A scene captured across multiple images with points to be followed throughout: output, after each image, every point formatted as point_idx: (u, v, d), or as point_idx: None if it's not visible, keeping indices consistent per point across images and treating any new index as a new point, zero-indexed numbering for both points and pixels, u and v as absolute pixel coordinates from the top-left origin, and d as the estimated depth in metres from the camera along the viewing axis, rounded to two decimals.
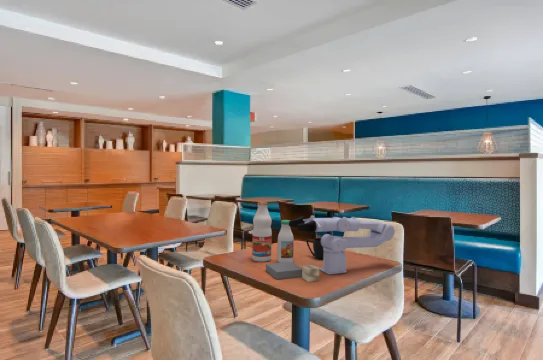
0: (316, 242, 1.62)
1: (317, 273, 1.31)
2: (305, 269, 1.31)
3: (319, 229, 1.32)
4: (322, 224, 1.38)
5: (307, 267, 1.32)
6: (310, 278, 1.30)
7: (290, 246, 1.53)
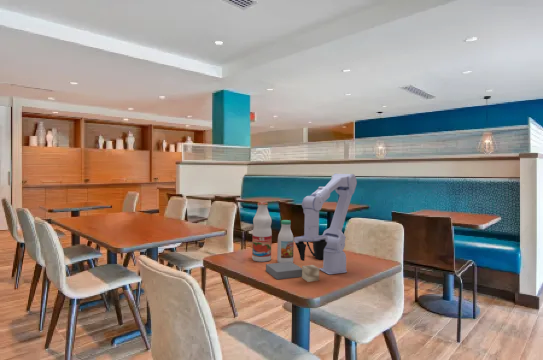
0: None
1: (317, 273, 1.31)
2: (305, 269, 1.31)
3: None
4: None
5: (307, 267, 1.32)
6: (310, 278, 1.30)
7: (290, 246, 1.53)
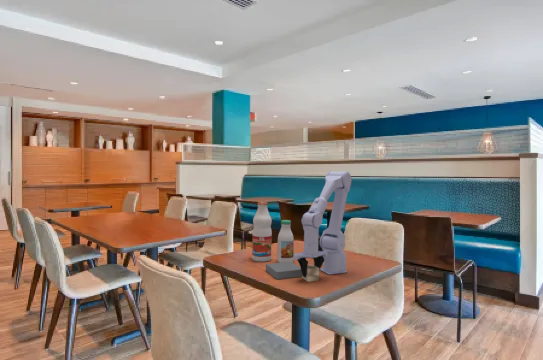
0: None
1: (317, 273, 1.31)
2: None
3: None
4: None
5: (307, 267, 1.32)
6: (310, 278, 1.30)
7: (290, 246, 1.53)
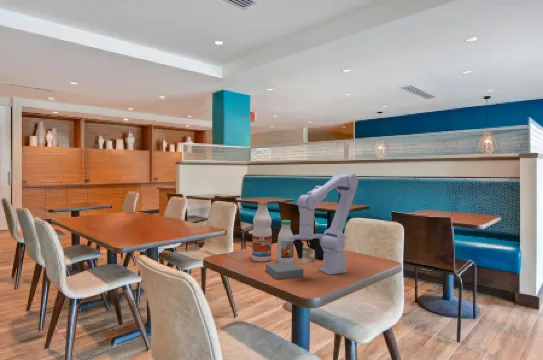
0: None
1: (312, 255, 1.32)
2: None
3: None
4: None
5: (303, 249, 1.33)
6: (306, 260, 1.30)
7: (290, 246, 1.53)
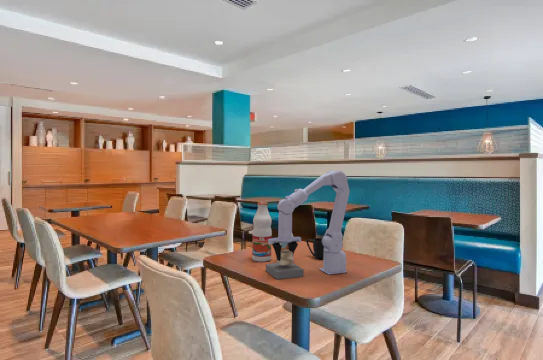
0: (316, 242, 1.62)
1: (291, 257, 1.37)
2: None
3: None
4: None
5: (281, 251, 1.38)
6: (284, 262, 1.36)
7: None
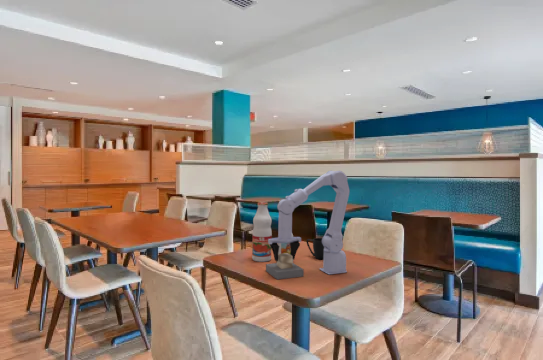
0: (316, 242, 1.62)
1: (290, 260, 1.37)
2: (279, 257, 1.37)
3: None
4: None
5: (281, 255, 1.38)
6: (284, 265, 1.36)
7: None
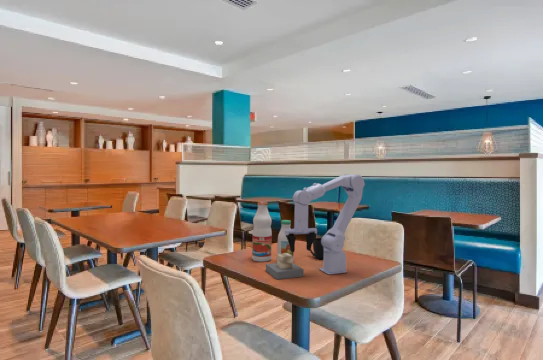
0: (316, 242, 1.62)
1: (290, 260, 1.37)
2: (279, 257, 1.37)
3: None
4: None
5: (281, 255, 1.38)
6: (284, 265, 1.36)
7: None
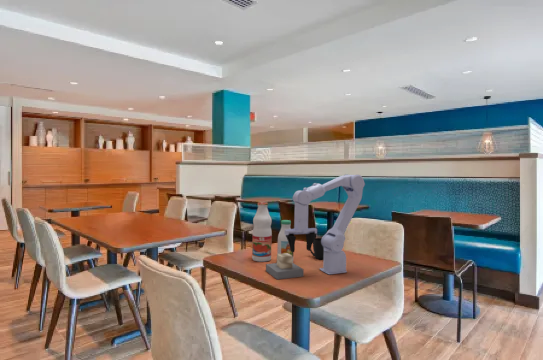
0: (316, 242, 1.62)
1: (290, 260, 1.37)
2: (279, 257, 1.37)
3: None
4: None
5: (281, 255, 1.38)
6: (284, 265, 1.36)
7: None
